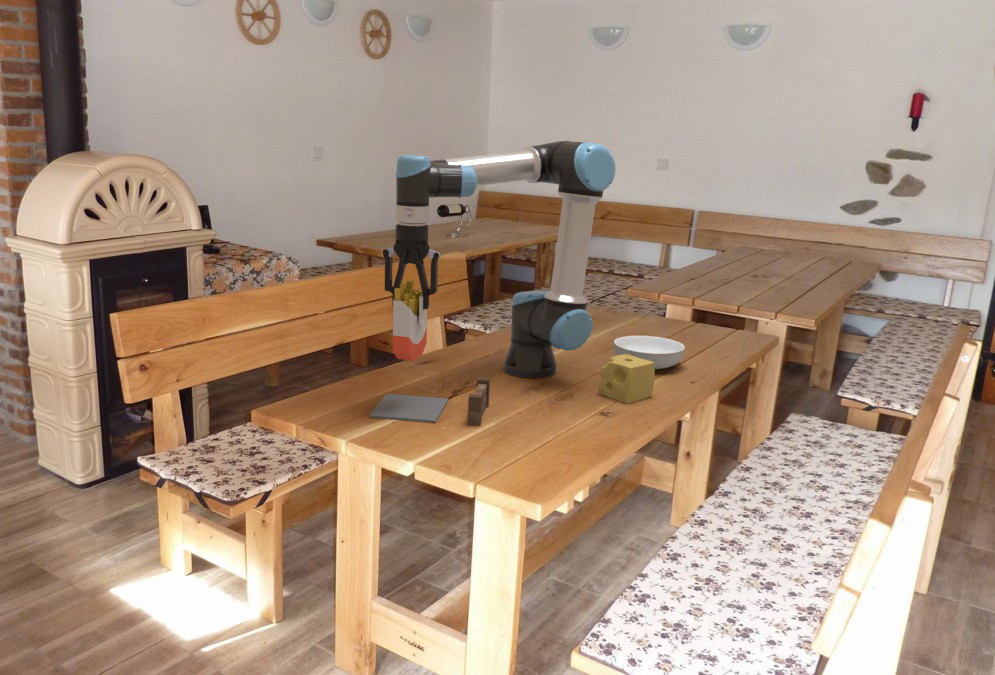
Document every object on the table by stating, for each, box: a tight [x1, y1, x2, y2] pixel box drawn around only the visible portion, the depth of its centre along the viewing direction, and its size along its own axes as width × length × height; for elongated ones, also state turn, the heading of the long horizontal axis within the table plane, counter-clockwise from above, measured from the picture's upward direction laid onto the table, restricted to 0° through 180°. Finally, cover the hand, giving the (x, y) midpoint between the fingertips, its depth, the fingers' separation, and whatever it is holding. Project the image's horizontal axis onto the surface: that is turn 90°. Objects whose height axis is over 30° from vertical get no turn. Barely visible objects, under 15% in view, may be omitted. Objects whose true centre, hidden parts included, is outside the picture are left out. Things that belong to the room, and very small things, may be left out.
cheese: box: [597, 354, 656, 405], centre depth 219 cm, size 10×11×10 cm
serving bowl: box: [613, 335, 686, 371], centre depth 247 cm, size 21×21×7 cm
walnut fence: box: [467, 376, 491, 427], centre depth 201 cm, size 15×3×7 cm, turn 173°
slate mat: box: [369, 393, 449, 424], centre depth 204 cm, size 16×16×1 cm
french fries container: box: [392, 279, 428, 362], centre depth 198 cm, size 5×11×18 cm, turn 163°
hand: (410, 321), depth 198 cm, fingers closed on french fries container, 5 cm apart
